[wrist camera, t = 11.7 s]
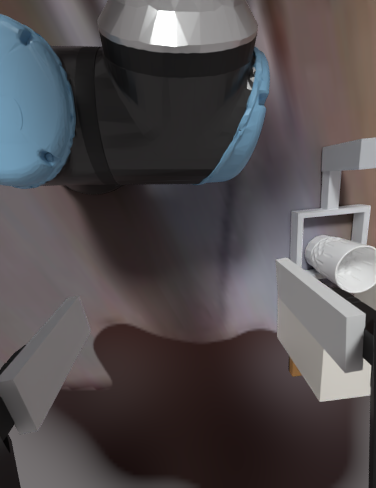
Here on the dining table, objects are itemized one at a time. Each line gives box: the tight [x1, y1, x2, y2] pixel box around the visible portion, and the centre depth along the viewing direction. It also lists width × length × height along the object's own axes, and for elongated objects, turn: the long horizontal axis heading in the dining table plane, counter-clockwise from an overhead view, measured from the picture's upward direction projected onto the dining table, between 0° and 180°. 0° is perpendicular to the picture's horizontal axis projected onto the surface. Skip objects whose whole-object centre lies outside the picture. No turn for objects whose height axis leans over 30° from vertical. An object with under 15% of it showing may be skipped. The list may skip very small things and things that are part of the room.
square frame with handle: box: [290, 138, 376, 279], centre depth 39 cm, size 24×13×9 cm, turn 5°
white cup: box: [305, 235, 376, 293], centre depth 41 cm, size 8×8×10 cm
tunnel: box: [277, 284, 376, 402], centre depth 42 cm, size 14×17×15 cm
